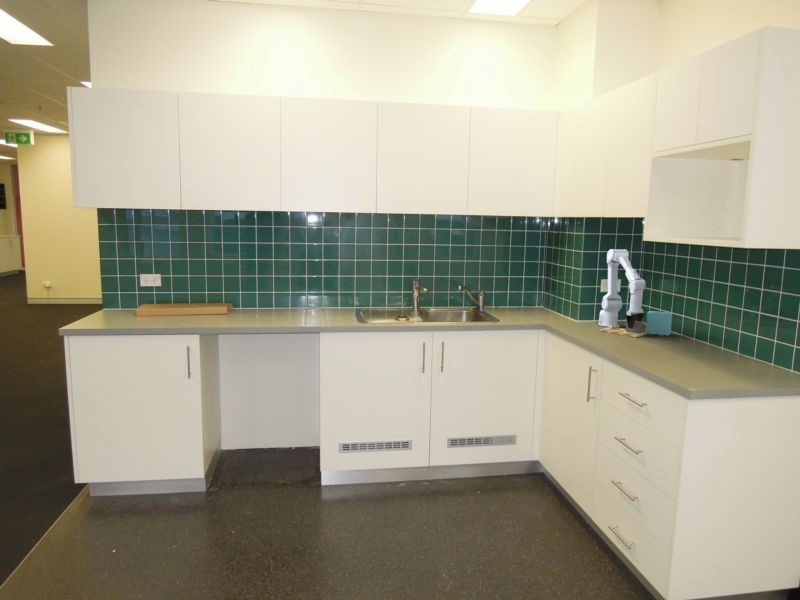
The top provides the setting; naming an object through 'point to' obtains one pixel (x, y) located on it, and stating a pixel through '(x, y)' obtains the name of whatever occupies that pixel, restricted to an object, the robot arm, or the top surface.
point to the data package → (659, 323)
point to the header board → (621, 331)
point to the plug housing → (635, 327)
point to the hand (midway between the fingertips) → (633, 327)
